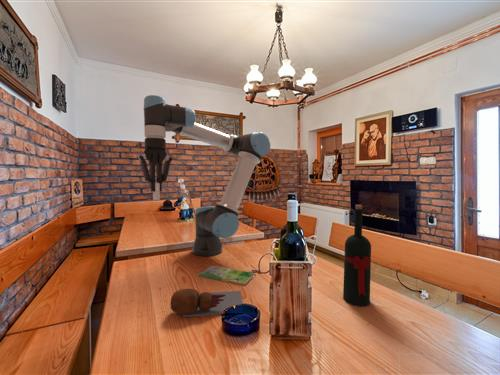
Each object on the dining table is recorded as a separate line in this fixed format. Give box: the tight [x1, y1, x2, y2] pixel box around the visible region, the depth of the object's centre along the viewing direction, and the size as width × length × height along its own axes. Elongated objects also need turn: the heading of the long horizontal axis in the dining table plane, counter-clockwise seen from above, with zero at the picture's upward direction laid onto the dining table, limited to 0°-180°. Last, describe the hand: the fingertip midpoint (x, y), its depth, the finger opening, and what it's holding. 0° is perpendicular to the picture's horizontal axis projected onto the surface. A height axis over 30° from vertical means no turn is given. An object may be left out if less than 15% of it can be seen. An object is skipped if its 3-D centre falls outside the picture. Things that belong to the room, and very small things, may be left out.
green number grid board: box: [198, 265, 257, 287], centre depth 94 cm, size 20×1×10 cm
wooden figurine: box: [170, 288, 225, 316], centre depth 69 cm, size 7×6×15 cm
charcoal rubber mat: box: [182, 290, 244, 318], centre depth 74 cm, size 17×12×1 cm
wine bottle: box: [342, 204, 372, 307], centre depth 74 cm, size 8×10×30 cm
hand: (156, 199), depth 94 cm, fingers closed
